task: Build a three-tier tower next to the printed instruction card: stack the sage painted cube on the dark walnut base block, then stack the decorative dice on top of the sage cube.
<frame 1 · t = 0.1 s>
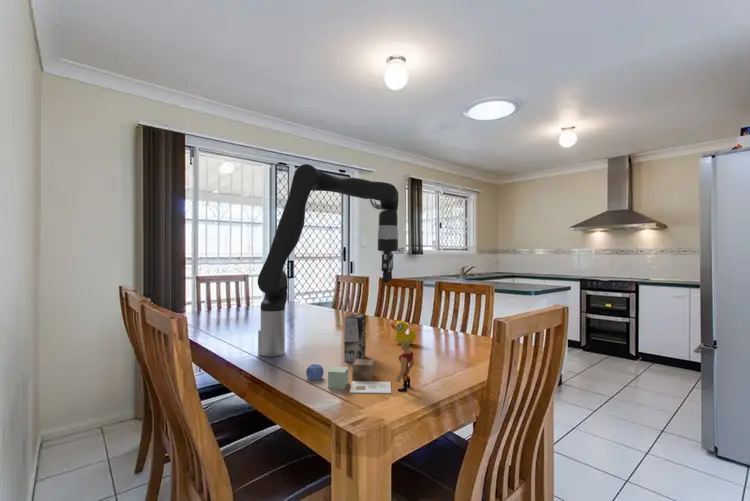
hand: (387, 281, 144), 29 cm above the table, tool pointing down, fingers open, 8 cm apart
duckling: (403, 344, 169), on the table
coffee box: (355, 359, 146), on the table
base block: (363, 377, 125), on the table
action figure: (404, 389, 115), on the table
instruction card: (370, 387, 115), on the table
sage cube: (338, 385, 117), on the table
decorative dice: (314, 379, 123), on the table
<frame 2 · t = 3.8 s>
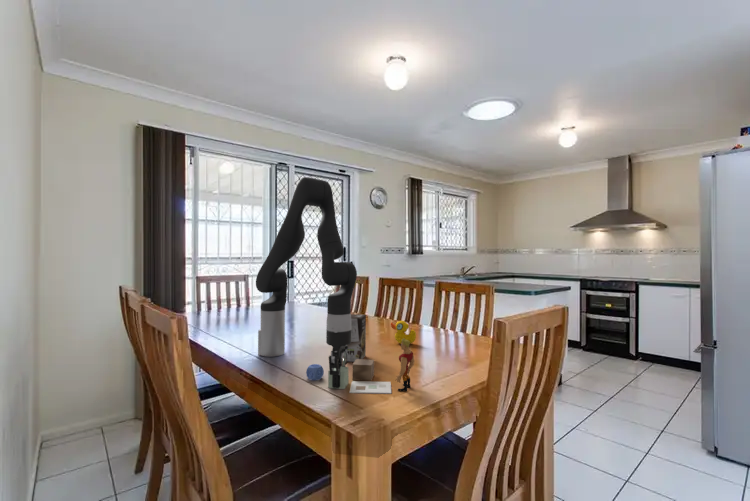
hand: (338, 383, 117), 0 cm above the table, tool pointing down, fingers closed on sage cube, 5 cm apart
sage cube: (338, 385, 117), on the table, touching gripper
everything else where it was.
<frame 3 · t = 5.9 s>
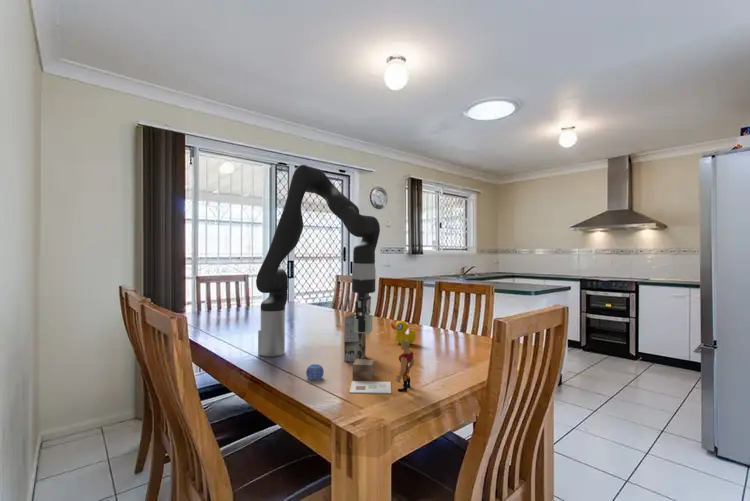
hand: (363, 329, 125), 15 cm above the table, tool pointing down, fingers closed on sage cube, 5 cm apart
sage cube: (363, 331, 125), point 15 cm above the table, touching gripper
everything else where it was.
when the fingers open (6 cm above the table, at t = 8.0 s): sage cube stays where it is, resting on base block.
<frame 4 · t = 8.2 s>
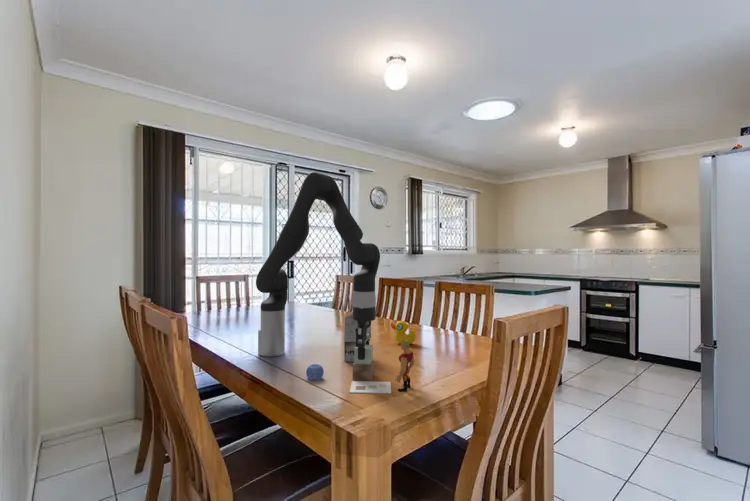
hand: (363, 356, 125), 7 cm above the table, tool pointing down, fingers open, 7 cm apart
base block: (363, 377, 125), on the table, touching sage cube
sage cube: (363, 361, 125), point 5 cm above the table, touching base block
everything else where it was.
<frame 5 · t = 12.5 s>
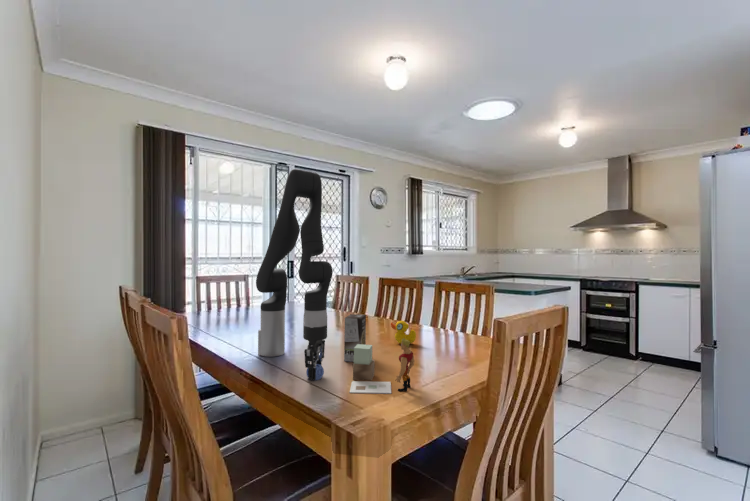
hand: (314, 376, 123), 1 cm above the table, tool pointing down, fingers closed on decorative dice, 5 cm apart
decorative dice: (315, 378, 123), on the table, touching gripper
everything else where it was.
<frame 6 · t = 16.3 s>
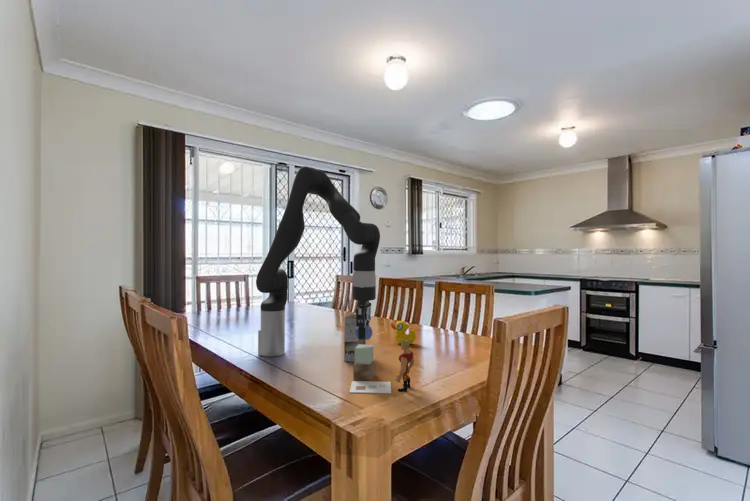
hand: (363, 336, 125), 13 cm above the table, tool pointing down, fingers closed on decorative dice, 5 cm apart
decorative dice: (363, 339, 125), point 12 cm above the table, touching gripper
everything else where it was.
when the fingers open (11 cm above the table, at t = 17.1 s): decorative dice stays where it is, resting on sage cube.
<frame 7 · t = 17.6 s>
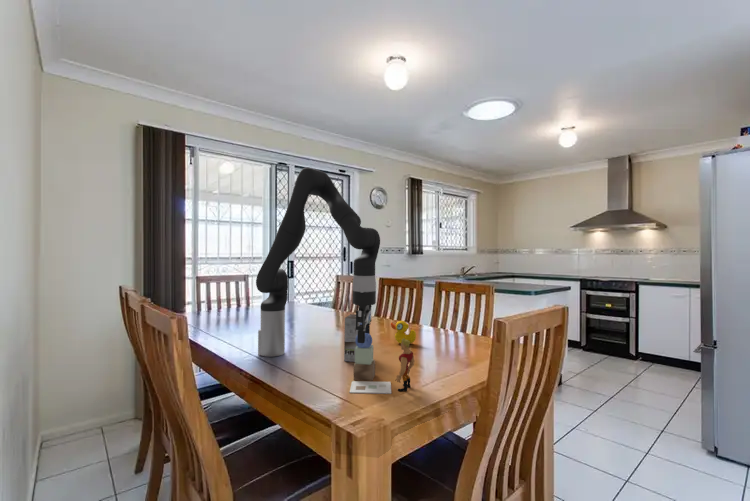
hand: (363, 339, 125), 12 cm above the table, tool pointing down, fingers open, 8 cm apart
sage cube: (364, 362, 125), point 5 cm above the table, touching base block, decorative dice
decorative dice: (363, 347, 125), point 10 cm above the table, touching sage cube
everything else where it was.
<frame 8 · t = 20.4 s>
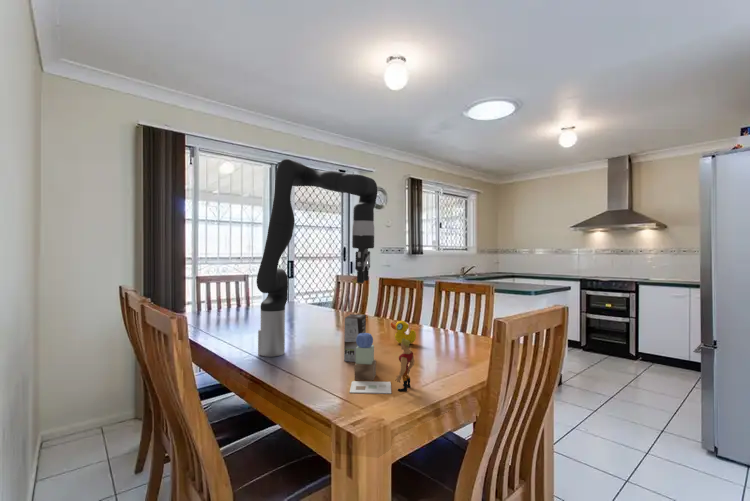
hand: (362, 281, 133), 30 cm above the table, tool pointing down, fingers open, 8 cm apart
nothing on the table moved.
at the end: decorative dice 0.4 cm off-centre on the base block, point 9.8 cm above the base block's base; sage cube 0.3 cm off-centre on the base block, point 5.0 cm above the base block's base; decorative dice touching sage cube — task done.
